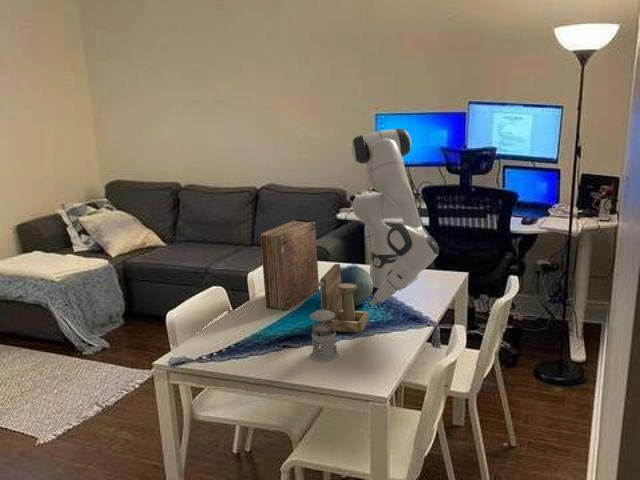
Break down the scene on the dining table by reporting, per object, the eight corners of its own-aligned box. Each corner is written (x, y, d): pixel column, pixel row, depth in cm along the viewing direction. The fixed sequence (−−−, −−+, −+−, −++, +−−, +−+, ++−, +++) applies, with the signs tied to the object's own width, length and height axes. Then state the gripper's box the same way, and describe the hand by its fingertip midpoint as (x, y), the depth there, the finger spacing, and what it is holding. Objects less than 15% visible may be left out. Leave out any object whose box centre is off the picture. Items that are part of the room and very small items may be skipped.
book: (285, 311, 252) (279, 236, 244) (265, 308, 257) (259, 234, 249) (319, 290, 273) (315, 220, 265) (300, 288, 278) (295, 219, 270)
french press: (317, 364, 206) (312, 289, 199) (303, 351, 216) (297, 278, 210) (345, 357, 210) (341, 283, 203) (330, 344, 220) (325, 273, 213)
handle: (354, 329, 231) (352, 288, 227) (338, 326, 234) (336, 286, 231) (360, 324, 235) (358, 284, 231) (344, 322, 238) (342, 282, 235)
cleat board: (370, 317, 241) (368, 265, 236) (358, 336, 225) (356, 281, 220) (337, 315, 245) (334, 264, 240) (323, 334, 229) (320, 279, 224)
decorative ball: (344, 295, 265) (342, 260, 261) (379, 299, 259) (378, 263, 255) (328, 308, 252) (326, 271, 249) (365, 312, 246) (363, 274, 242)
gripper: (400, 258, 233) (374, 283, 239) (388, 276, 214) (360, 302, 220) (412, 271, 233) (386, 295, 238) (401, 289, 214) (373, 316, 220)
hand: (373, 299), depth 229 cm, fingers open, 8 cm apart
